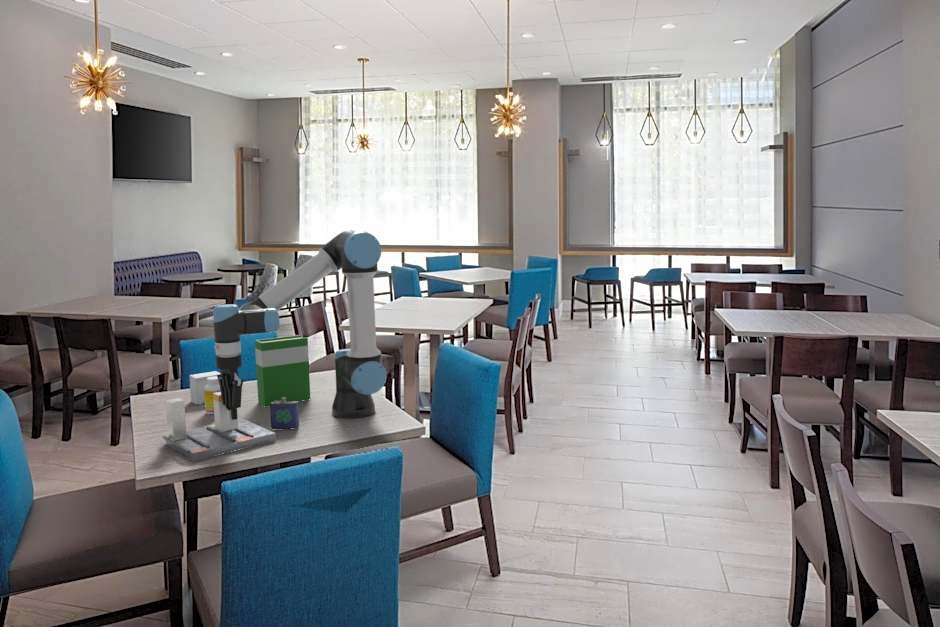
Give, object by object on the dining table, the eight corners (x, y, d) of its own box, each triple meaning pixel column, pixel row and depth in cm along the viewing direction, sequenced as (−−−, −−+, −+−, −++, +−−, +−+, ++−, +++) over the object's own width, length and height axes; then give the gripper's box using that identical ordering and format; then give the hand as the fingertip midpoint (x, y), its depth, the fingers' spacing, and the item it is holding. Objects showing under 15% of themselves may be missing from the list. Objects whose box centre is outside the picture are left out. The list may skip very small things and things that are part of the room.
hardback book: (303, 395, 285) (300, 334, 282) (310, 399, 279) (307, 337, 275) (258, 402, 275) (254, 340, 272) (264, 407, 269) (261, 343, 266)
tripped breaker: (215, 429, 235) (212, 393, 233) (227, 426, 237) (225, 390, 236) (220, 432, 232) (218, 395, 230) (233, 429, 234) (230, 393, 233)
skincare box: (196, 405, 273) (195, 377, 272) (190, 401, 278) (188, 374, 276) (224, 400, 280) (222, 373, 278) (217, 396, 285) (215, 370, 283)
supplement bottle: (219, 415, 259) (216, 380, 257) (202, 415, 260) (199, 379, 258) (229, 410, 265) (226, 376, 264) (212, 409, 267) (210, 375, 265)
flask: (299, 426, 246) (298, 395, 244) (298, 429, 243) (296, 397, 241) (271, 427, 245) (269, 396, 243) (270, 430, 242) (268, 399, 240)
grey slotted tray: (160, 444, 229) (157, 399, 227) (242, 425, 247) (240, 383, 245) (191, 462, 212) (187, 414, 210) (276, 441, 231) (274, 396, 228)
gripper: (207, 353, 228) (212, 426, 232) (226, 359, 219) (231, 435, 222) (230, 350, 233) (234, 421, 237) (249, 355, 224) (254, 430, 228)
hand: (233, 428), depth 230 cm, fingers closed
